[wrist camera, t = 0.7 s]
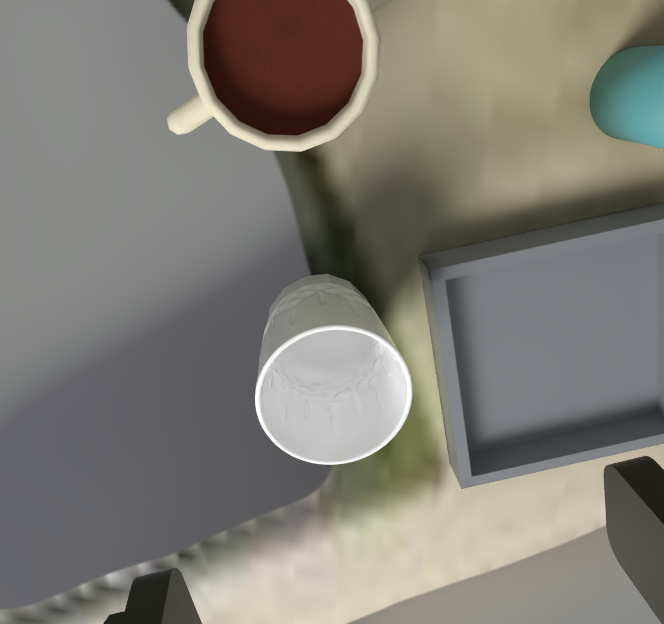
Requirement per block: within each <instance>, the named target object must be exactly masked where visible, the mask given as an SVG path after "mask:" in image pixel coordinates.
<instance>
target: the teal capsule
mask: <svg viewBox="0 0 664 624" xmlns="http://www.w3.org/2000/svg"><path fill="white" fill-rule="evenodd" d="M590 111H591V115H592V117H593V120H594V122H595V123H596V125H597V126H598V128H599V129H600V130H601V131H602V132H604V133H605V134H606V135H608V136H610V137H613V138H616V139H621V140H626V141H631V142H635V143H640V144H645V145H650V146H655V147H659V148H664V45H655V46H637V47H631V48H627V49H625V50H622V51H620V52H618V53H617V54H615V55H614V56H612V57H611V58H610V59H609V60H608V61H607V62H606V63H605V64H604V65H603V66H602V67H601V69H600V70H599V72H598V73H597V75H596V77H595V79H594V82H593V84H592V88H591V92H590Z"/></svg>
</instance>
